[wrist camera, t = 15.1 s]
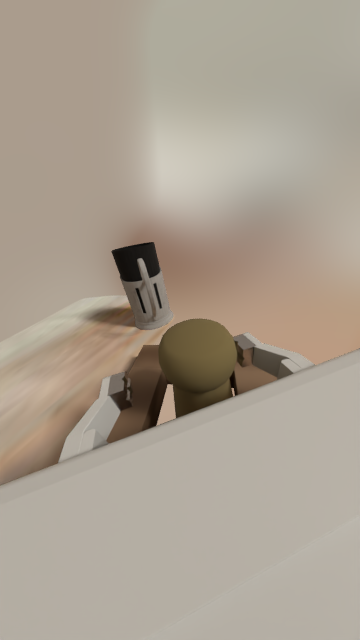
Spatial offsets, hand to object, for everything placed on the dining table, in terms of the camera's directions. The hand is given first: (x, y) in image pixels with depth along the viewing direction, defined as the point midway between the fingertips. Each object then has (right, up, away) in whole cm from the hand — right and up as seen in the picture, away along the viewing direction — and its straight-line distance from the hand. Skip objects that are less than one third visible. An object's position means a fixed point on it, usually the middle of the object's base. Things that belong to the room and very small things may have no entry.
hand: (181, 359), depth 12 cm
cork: (+3, -7, +4) cm, 8 cm away
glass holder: (-5, +2, +21) cm, 22 cm away
